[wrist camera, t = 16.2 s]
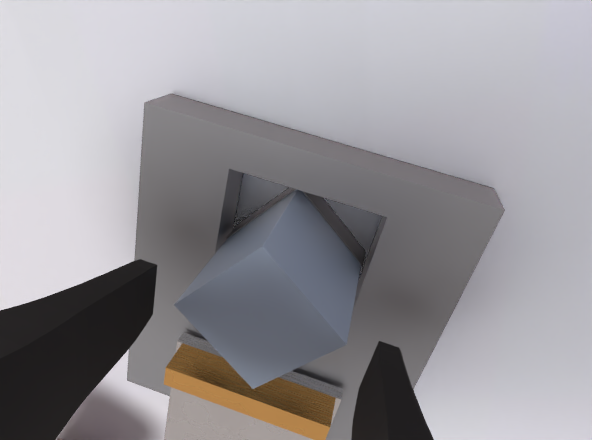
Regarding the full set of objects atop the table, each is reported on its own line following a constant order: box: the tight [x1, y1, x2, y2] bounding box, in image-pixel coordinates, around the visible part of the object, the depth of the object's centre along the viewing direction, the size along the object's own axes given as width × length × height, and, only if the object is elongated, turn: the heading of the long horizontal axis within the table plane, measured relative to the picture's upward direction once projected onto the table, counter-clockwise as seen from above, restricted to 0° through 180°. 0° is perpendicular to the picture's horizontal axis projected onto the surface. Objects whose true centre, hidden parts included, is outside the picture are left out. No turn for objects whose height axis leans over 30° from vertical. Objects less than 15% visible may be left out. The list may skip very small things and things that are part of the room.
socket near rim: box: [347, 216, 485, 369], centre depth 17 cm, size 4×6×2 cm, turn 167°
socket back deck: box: [127, 278, 423, 440], centre depth 21 cm, size 13×7×2 cm, turn 77°
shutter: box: [164, 332, 343, 440], centre depth 20 cm, size 8×8×2 cm
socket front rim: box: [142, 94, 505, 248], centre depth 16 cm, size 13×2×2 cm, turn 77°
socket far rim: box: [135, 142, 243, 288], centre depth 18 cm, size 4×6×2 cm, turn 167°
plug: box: [174, 187, 365, 389], centre depth 16 cm, size 4×4×6 cm
